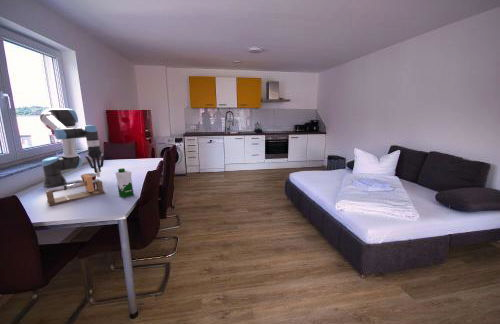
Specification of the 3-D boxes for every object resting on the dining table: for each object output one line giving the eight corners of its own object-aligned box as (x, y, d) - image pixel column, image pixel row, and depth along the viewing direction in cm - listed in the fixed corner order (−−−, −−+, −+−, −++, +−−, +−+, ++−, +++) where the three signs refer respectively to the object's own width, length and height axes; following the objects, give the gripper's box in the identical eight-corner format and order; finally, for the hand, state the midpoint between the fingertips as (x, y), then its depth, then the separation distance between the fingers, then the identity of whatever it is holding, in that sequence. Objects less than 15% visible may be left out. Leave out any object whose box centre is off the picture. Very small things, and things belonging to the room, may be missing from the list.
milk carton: (128, 192, 174) (125, 167, 170) (135, 194, 169) (132, 168, 165) (117, 196, 167) (113, 170, 163) (124, 198, 162) (120, 171, 158)
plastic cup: (90, 191, 178) (88, 176, 175) (79, 190, 180) (76, 176, 178) (102, 187, 188) (100, 173, 186) (91, 186, 191) (88, 172, 188)
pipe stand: (47, 201, 158) (44, 189, 156) (100, 190, 181) (98, 179, 179) (50, 206, 150) (47, 193, 148) (105, 193, 173) (103, 182, 171)
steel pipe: (49, 192, 155) (48, 187, 154) (98, 182, 176) (97, 178, 175) (49, 193, 153) (48, 188, 152) (99, 183, 174) (98, 179, 173)
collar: (85, 189, 173) (82, 175, 171) (90, 188, 176) (87, 174, 173) (89, 192, 166) (86, 177, 164) (94, 191, 168) (91, 176, 166)
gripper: (84, 147, 162) (89, 179, 167) (105, 145, 171) (109, 175, 176) (81, 146, 167) (87, 177, 172) (102, 144, 176) (106, 174, 181)
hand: (98, 176), depth 174 cm, fingers closed
